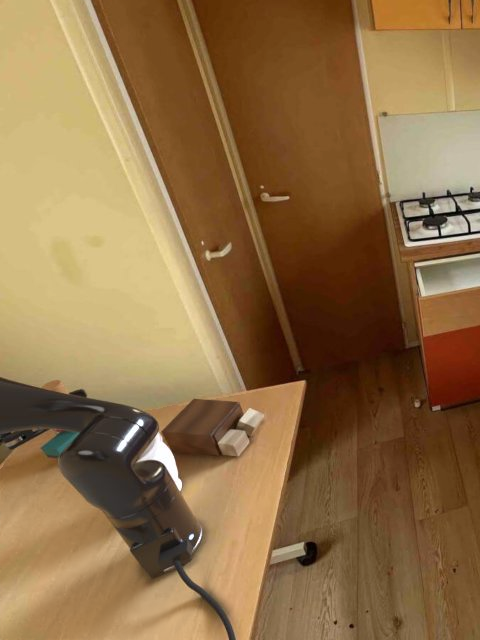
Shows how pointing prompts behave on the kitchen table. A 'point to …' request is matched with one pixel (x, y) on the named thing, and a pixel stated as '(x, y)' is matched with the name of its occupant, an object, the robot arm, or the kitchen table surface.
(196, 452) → the brown wooden box
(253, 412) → the crumb
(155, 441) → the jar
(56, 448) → the brush
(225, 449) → the pale wooden cube
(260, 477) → the kitchen table surface
